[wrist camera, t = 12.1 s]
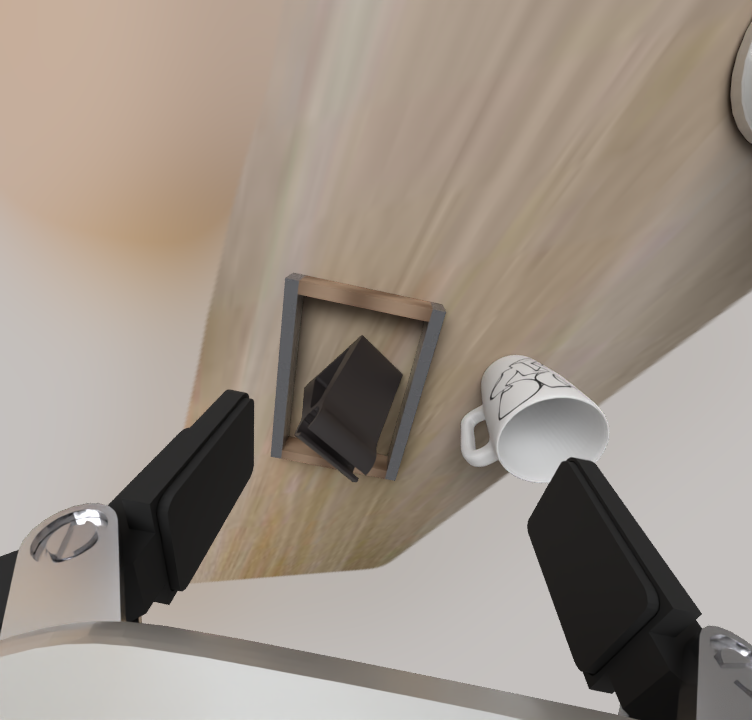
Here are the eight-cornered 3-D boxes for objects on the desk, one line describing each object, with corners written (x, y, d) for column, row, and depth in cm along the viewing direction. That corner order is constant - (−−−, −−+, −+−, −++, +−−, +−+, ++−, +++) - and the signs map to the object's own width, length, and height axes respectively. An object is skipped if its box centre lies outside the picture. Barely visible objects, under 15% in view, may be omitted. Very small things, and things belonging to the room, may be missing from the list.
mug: (474, 440, 38) (499, 514, 29) (430, 391, 35) (442, 454, 26) (568, 386, 34) (630, 450, 25) (526, 327, 32) (577, 374, 23)
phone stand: (344, 420, 38) (322, 506, 27) (304, 386, 36) (265, 462, 25) (402, 373, 35) (405, 448, 24) (363, 333, 33) (346, 395, 22)
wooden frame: (442, 304, 31) (445, 312, 29) (395, 465, 40) (395, 480, 38) (293, 272, 31) (285, 277, 29) (277, 442, 40) (270, 456, 37)
